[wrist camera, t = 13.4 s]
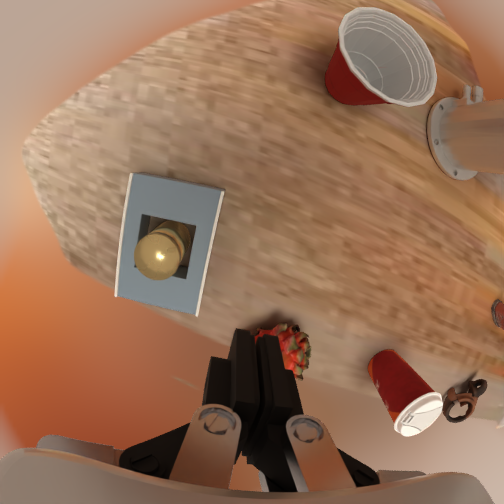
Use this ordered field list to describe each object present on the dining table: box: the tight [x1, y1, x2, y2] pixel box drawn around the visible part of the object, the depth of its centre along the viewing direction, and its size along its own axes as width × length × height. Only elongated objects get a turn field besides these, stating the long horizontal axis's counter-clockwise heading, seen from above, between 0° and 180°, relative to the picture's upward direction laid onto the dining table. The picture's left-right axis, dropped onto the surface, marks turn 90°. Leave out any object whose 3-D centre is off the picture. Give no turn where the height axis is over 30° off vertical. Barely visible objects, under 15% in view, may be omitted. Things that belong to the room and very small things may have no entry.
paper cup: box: [368, 349, 443, 436], centre depth 35 cm, size 8×8×14 cm
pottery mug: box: [442, 379, 487, 423], centre depth 44 cm, size 12×10×8 cm
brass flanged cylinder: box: [134, 220, 190, 280], centre depth 30 cm, size 4×4×8 cm
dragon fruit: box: [255, 323, 311, 381], centre depth 35 cm, size 8×8×12 cm
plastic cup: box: [325, 7, 437, 107], centre depth 24 cm, size 11×11×12 cm
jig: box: [115, 173, 225, 316], centre depth 32 cm, size 14×10×4 cm
